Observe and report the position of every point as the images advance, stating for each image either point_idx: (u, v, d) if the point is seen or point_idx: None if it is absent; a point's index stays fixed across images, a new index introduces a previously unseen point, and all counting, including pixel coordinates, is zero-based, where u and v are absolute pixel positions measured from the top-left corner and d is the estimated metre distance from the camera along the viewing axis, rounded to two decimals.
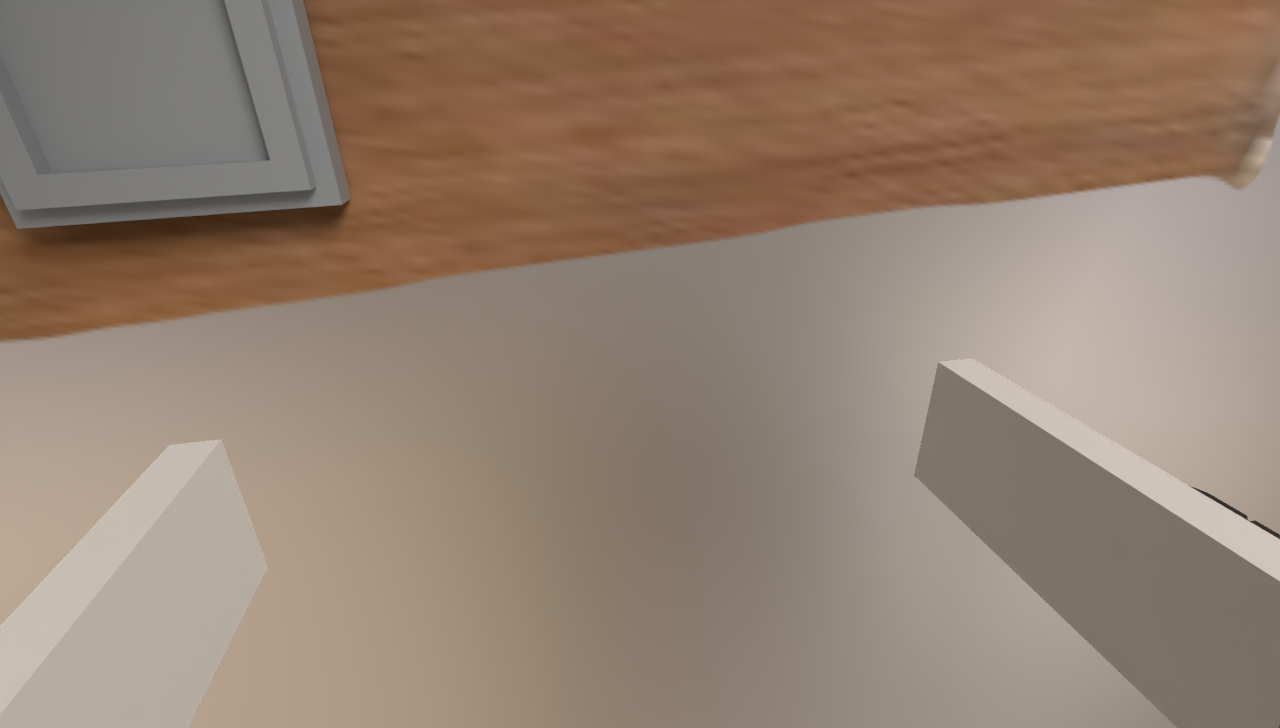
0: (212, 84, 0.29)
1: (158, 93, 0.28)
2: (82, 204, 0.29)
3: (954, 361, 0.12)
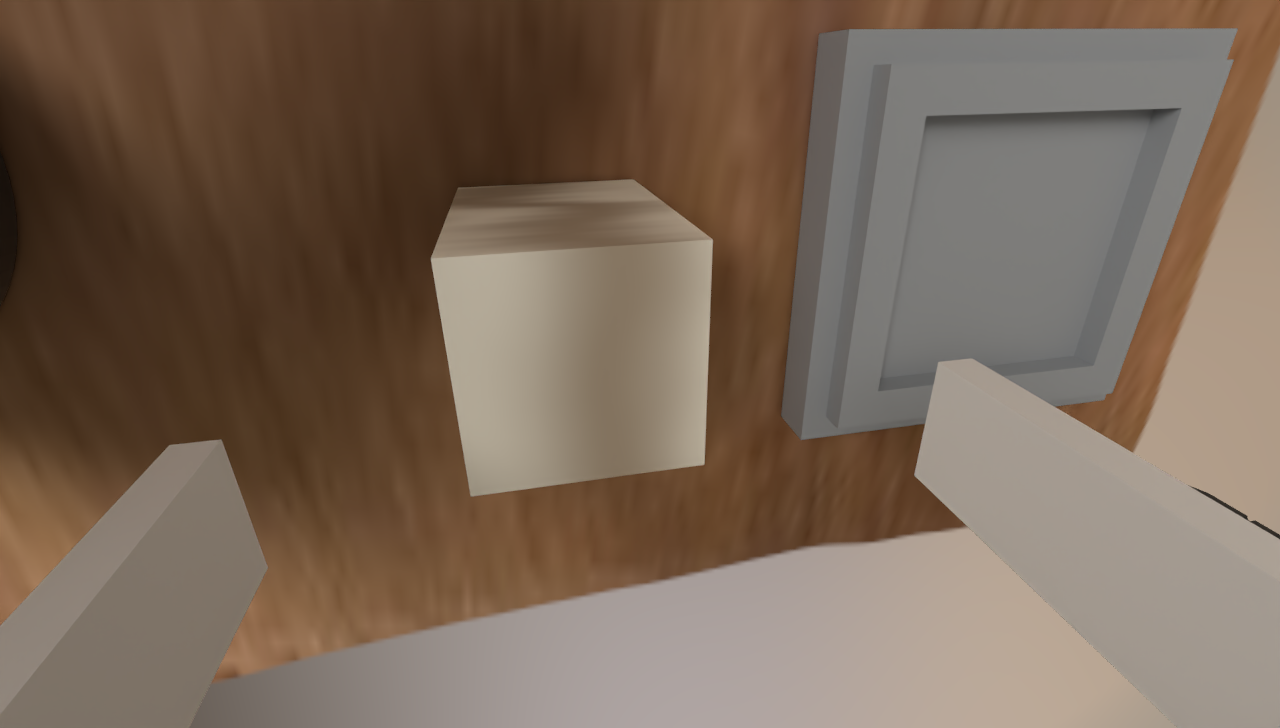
0: (1058, 165, 0.22)
1: (1046, 230, 0.23)
2: (1132, 334, 0.25)
3: (954, 361, 0.12)
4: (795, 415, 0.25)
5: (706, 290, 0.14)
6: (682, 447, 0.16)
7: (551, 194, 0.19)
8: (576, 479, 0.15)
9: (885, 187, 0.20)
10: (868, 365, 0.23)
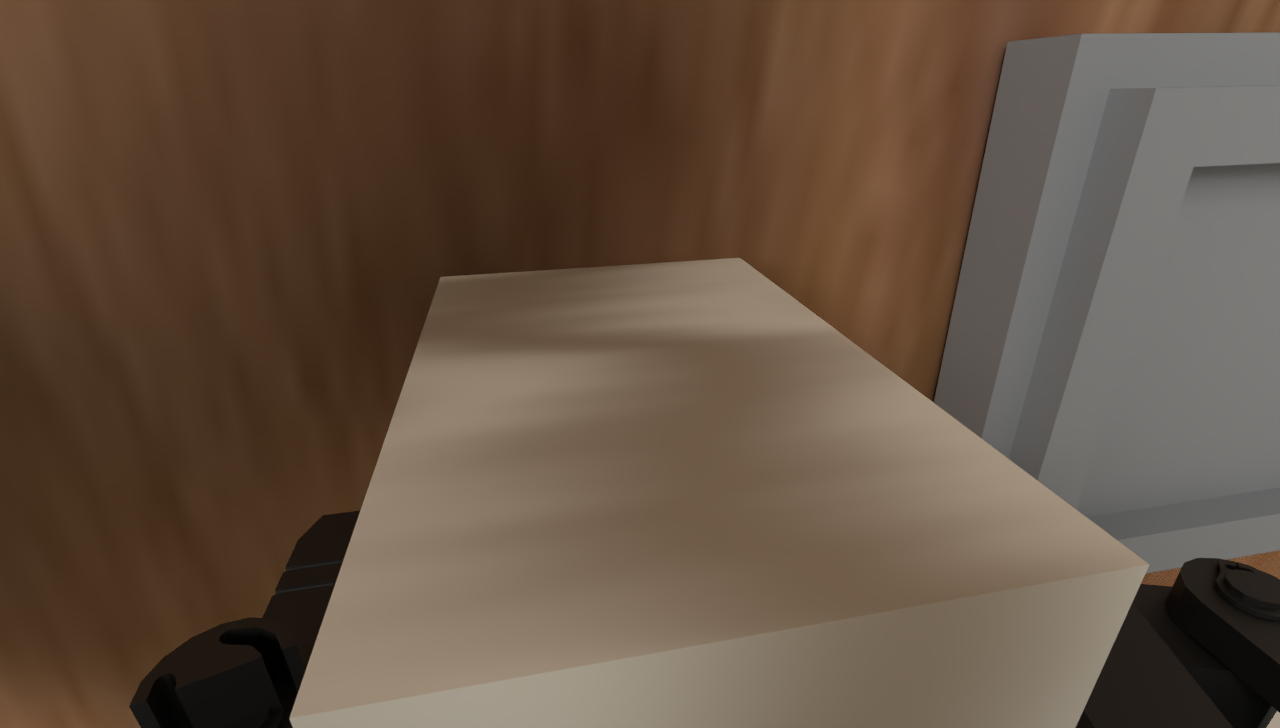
0: None
1: None
2: None
3: None
4: None
5: (1089, 673, 0.05)
6: None
7: (611, 303, 0.10)
8: None
9: (1117, 273, 0.13)
10: None
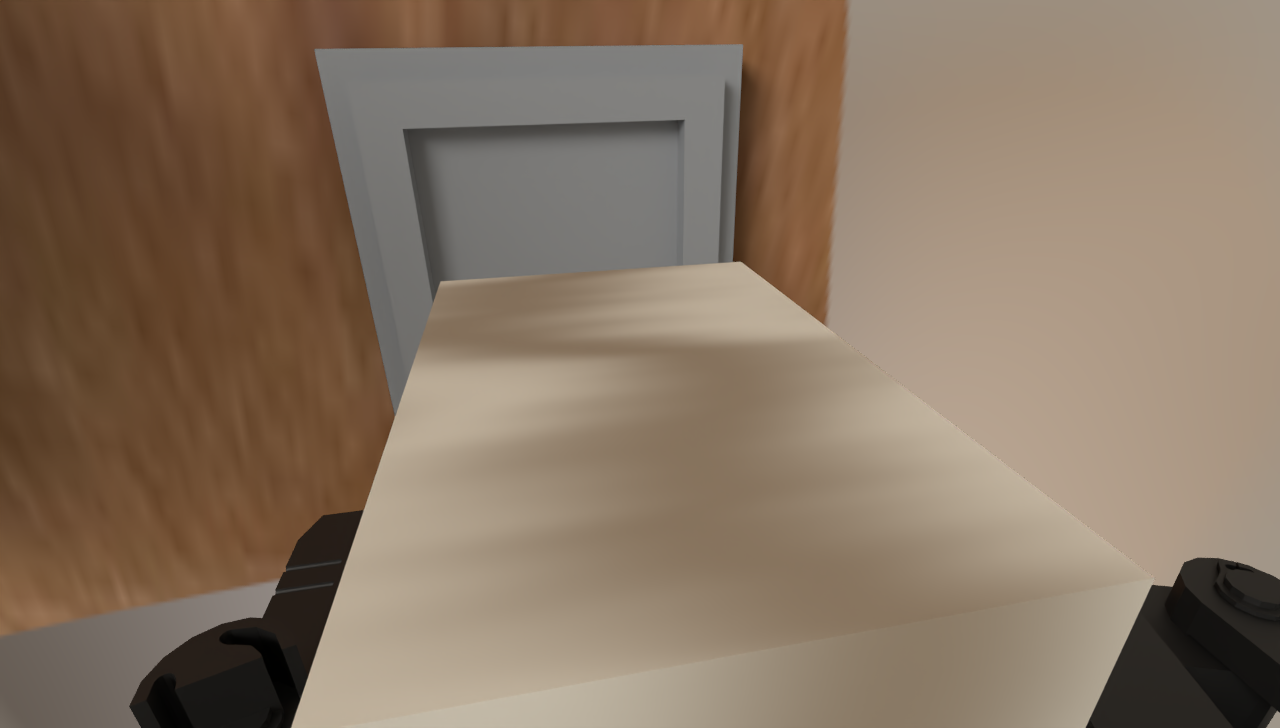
0: (591, 173, 0.24)
1: (601, 235, 0.25)
2: None
3: None
4: None
5: (1094, 687, 0.05)
6: None
7: (612, 308, 0.10)
8: None
9: (383, 195, 0.21)
10: None
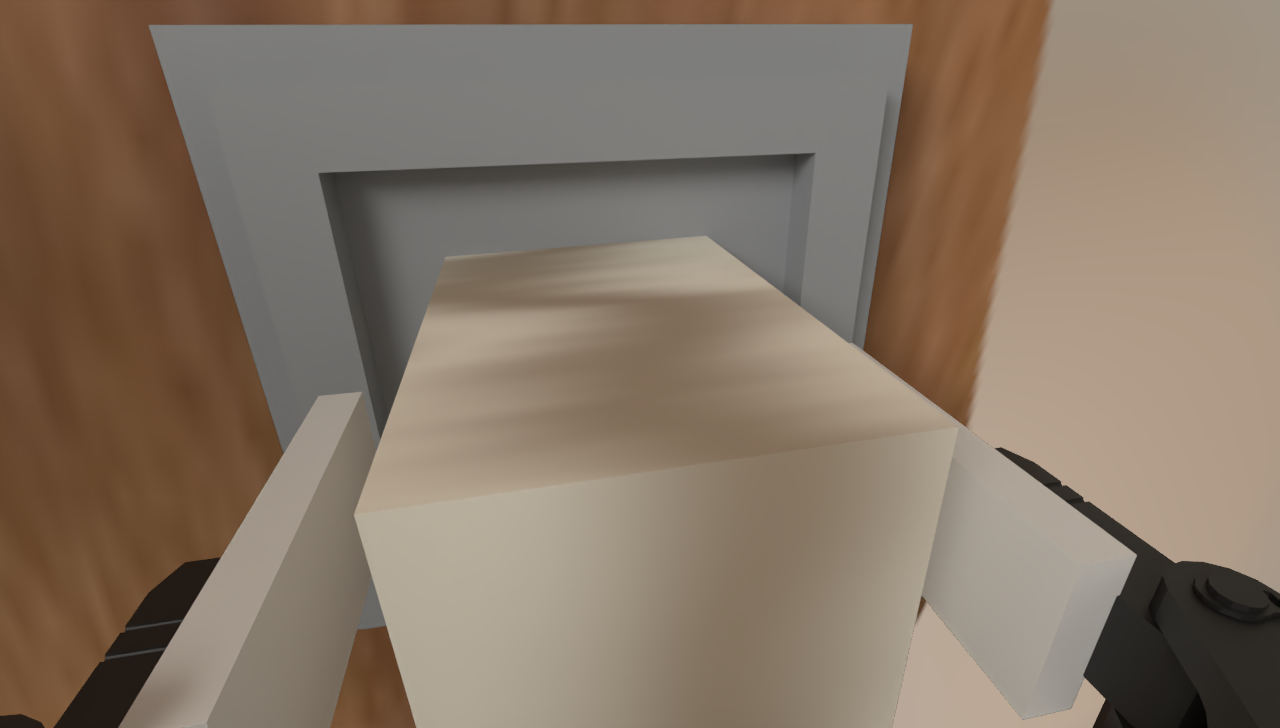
0: (649, 239, 0.14)
1: None
2: None
3: None
4: None
5: (930, 517, 0.07)
6: None
7: (590, 273, 0.12)
8: None
9: (288, 288, 0.12)
10: None
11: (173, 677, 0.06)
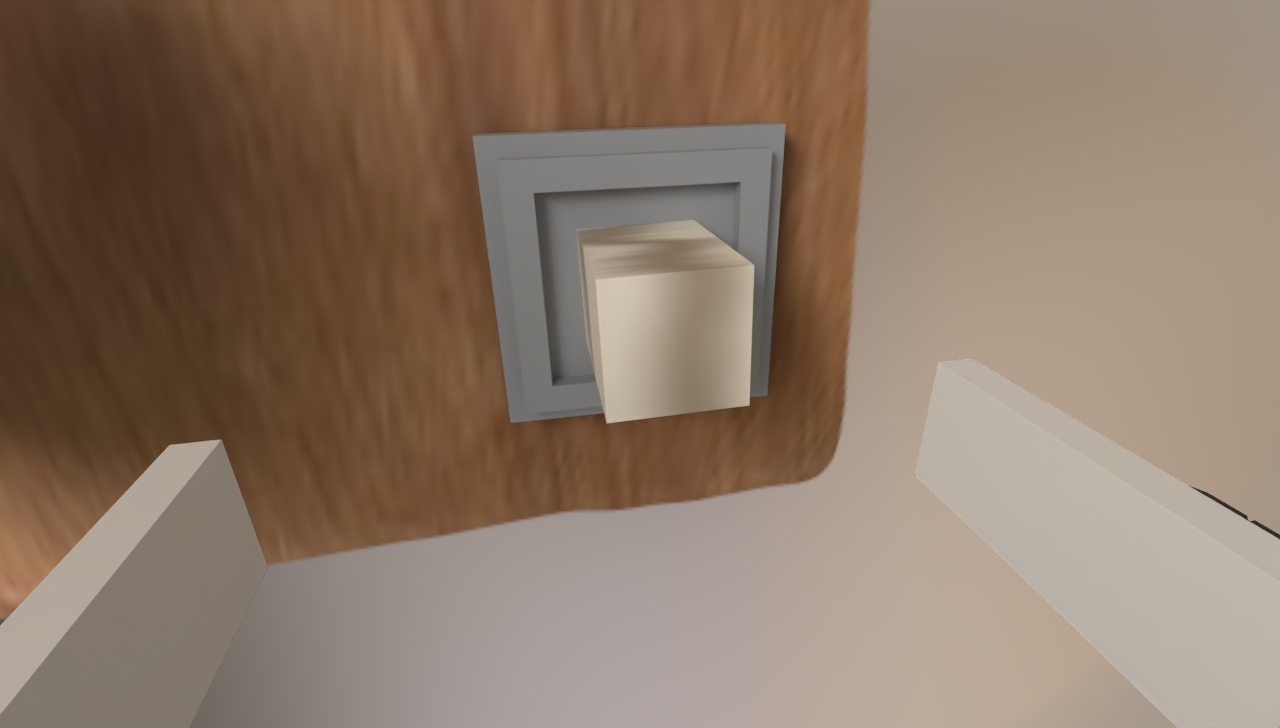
0: (667, 221, 0.31)
1: None
2: (759, 344, 0.33)
3: (954, 361, 0.12)
4: None
5: (750, 295, 0.23)
6: (735, 393, 0.25)
7: (643, 233, 0.28)
8: (670, 413, 0.25)
9: (516, 241, 0.29)
10: (538, 367, 0.32)
11: None
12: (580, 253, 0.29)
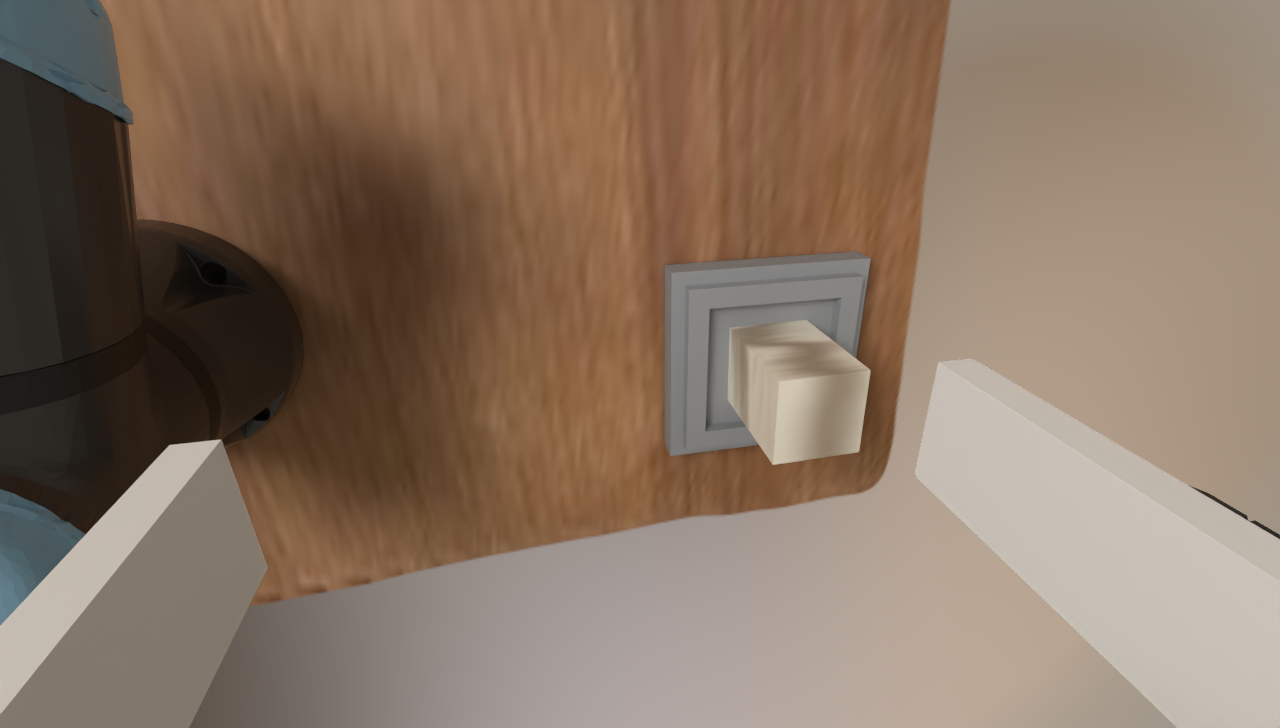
0: (788, 321, 0.45)
1: None
2: None
3: (954, 361, 0.12)
4: (668, 443, 0.48)
5: (866, 387, 0.38)
6: (851, 445, 0.39)
7: (780, 334, 0.43)
8: (811, 458, 0.39)
9: (694, 338, 0.43)
10: (698, 419, 0.46)
11: None
12: (736, 346, 0.43)
